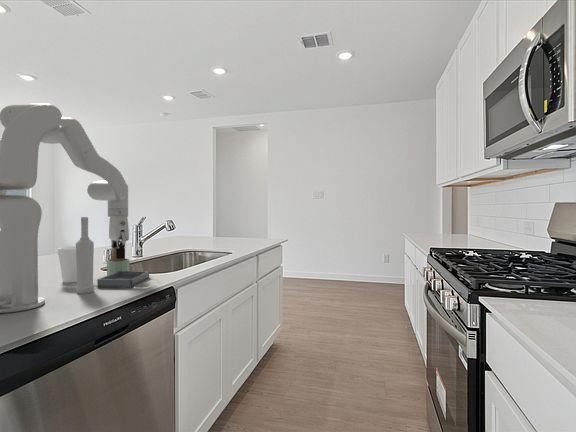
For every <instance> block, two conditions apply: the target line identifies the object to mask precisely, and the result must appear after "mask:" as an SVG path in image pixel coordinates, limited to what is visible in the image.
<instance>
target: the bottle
mask: <svg viewBox="0 0 576 432" xmlns="http://www.w3.org/2000/svg"><path fill="white" fill-rule="evenodd" d="M80 226H81V228H80V231H81V234H80V237H79V239H78V240H77V241H76V242H75V246H76V269H77V282H76V287H75V292H76V294H78V295H79V294H81V295H85V294H91V293H92V292H94V290H95V285H94V250H95V249H94V246H95V244H94V243H95V242H94V241H93V240H91V239H90V237H89V217H88V216H81V217H80Z"/></svg>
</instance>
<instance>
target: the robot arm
mask: <svg viewBox="0 0 576 432" xmlns="http://www.w3.org/2000/svg"><path fill="white" fill-rule="evenodd" d="M0 123H1V125H2V126H3V128H4V129H3V130H4V131H3V132H2V134H1V138H0V139H1V141H0V314H5V313H15V312H17V313H18V312H23V311H28V310H32V309H36V308H39V307H41V306H43V305H44V304H45V300H46V299H45V298H44V297H41V296H39V258H38V256H39V254H38V253H39V251H38V247H39V246H38V245H39V244H38V241H39V240H38V237H39V230H40V229H39V228H40V224H41V221H42V214H43V213H42V208H41V205H40V203H39V202H38V201H37V200H35V199H34V198H32V197H30V196H26V195H21V194H7V191H26V190H30V189H31V188H34V187H35V185H36V183H37V179H38V165H39V149H40V144H41V143H42V144H49V145H52V144H60V145H61V147H62V148H63V149H64V151H65V153H66V154H67V156H68V158H69V159H70V161H72V163H73V165H74V166H75V167H76V168H79V169H81V170H83V171H86V172H88V173H91V174H94V175H96V176H98V177H100V178H102V179H103V180H97V181H96V180H95V181H93V182H91V183H89V185H88V186H87V194H88V196H89V197H90V198H91V199H92V200H95V201H107V217H109V223H108V225H109V226H108V237H109V239H110V243H111V245H110V247H111V248H114V247H117V249H116V258H117V259H119V258H126V242H127V241H129V240H130V229H129V227H130V226H129V220H128V218H129V185H128V184H127V182H126V180H125V178H124V176H123V175H122V173H121V171H120V170H119V169H118V168H116V166H115V165H113V164H112V163H110V162H109V161H108V160H107V159H106V158H103V157H102V156H100V154H98V152H97V150H96V148H95V146H94V145H93V143H92V141H91V139H90V138H89V135H88V134H87V133H86V131H85V129H84V127H83V125H82V124H81V123H80V121H78V120H77V119H76V118H72V117H65V116H63V114H62V111H61V110H60V109H59V108H58V107H57V106H55V105H53V104H51V103H45V102H44V103H43V102H42V103H27V104H26V103H25V104H22V103H21V104H10V105H7V106H5V107H3V108H2V109H1V110H0Z"/></svg>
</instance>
